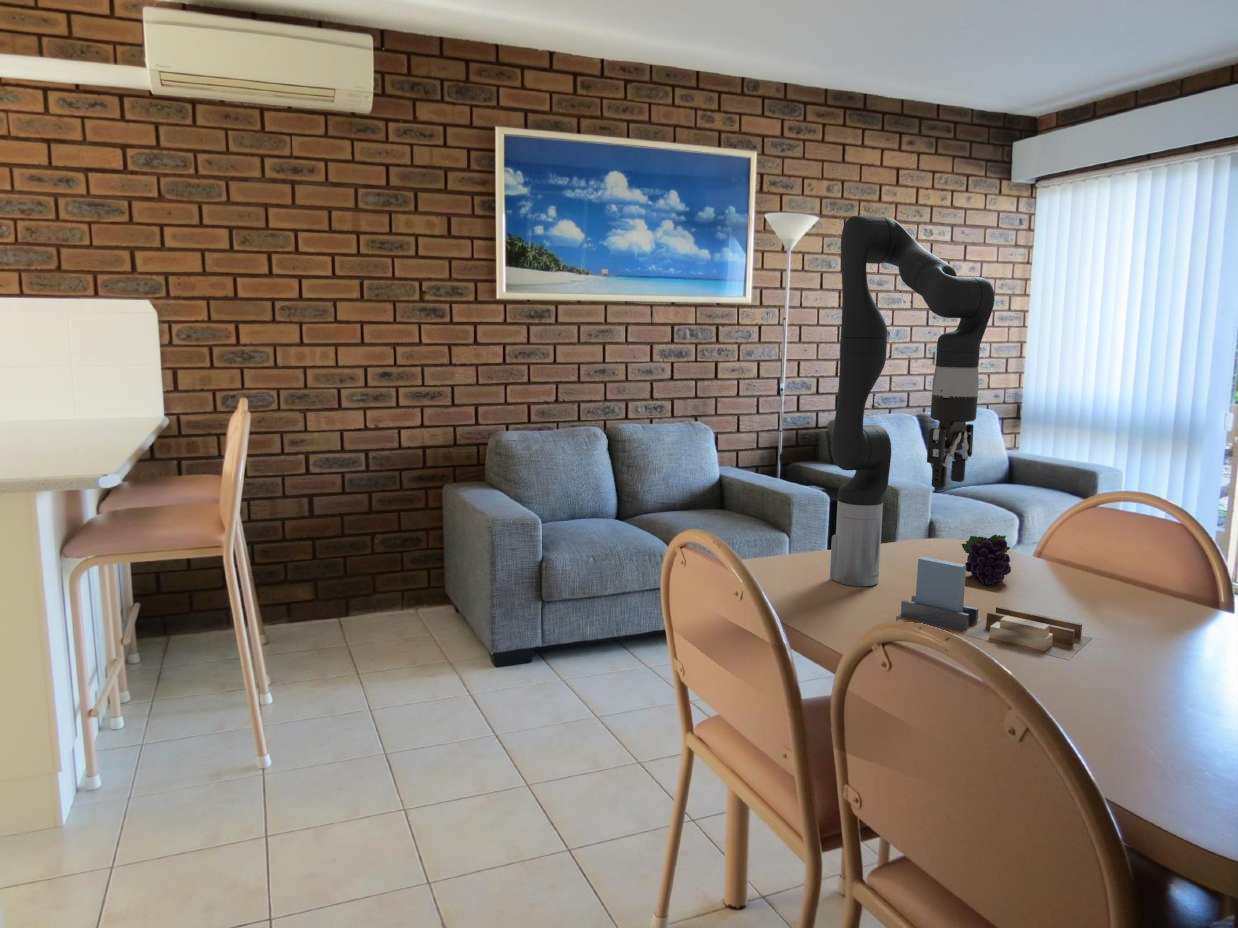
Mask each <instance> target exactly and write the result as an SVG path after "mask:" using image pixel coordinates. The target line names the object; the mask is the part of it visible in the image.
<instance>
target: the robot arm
mask: <svg viewBox="0 0 1238 928" xmlns="http://www.w3.org/2000/svg"><path fill="white" fill-rule="evenodd" d="M840 264H841V265H840V266H841V267H840V269H841V286H842V287H841V288H842V291H841V292H842V293H841V294H842V295H841V296H842V299H841V301H842V302H841V305H842V306H841V326H840V336H839V337H840V340H839V341H840V342H839V372H838V373H839V374H838V375H839V376H838V387H837V403H836V409H835V416H834V417H835V418H834V424H833V431H832V438H831V452H832V458H833V460H834V463H835V464H836V466H837V467H838V468H839V469H841V470H843V471H855V473H854V475H853V476H852V478H851V479H850V480H848V481H847V482H845V483H843V484H842V485H841V486H840V487H839V488H838V490H837V506H836V507H837V509H836V525H835V526H836V528H835V533H834V534H833V535H832V536H831V543H830V544H831V545H830V547H831V549H830V566H829V567H830V568H829V579H830V580H834V581H835V582H837V583H839V584H842V585H847V586H853V587H872V586H876V585H878V583H879V582H880V581H879V580H880V579H879V577H880V563H881V561H880V560H881V547H882V546H881V545H882V544H881V543H882V542H881V541H882V530H883V529H882V526H883V509H884V498H885V497H884V496H885V495H886V492H887V490H888V485H889V477H890V469H891V461H892V460H891V459H892V443H891V438H890V437H891V436H890V435H889V433H888V431H887V430H886V429H885V428H884V427H883V426H880V425H877V424H867V425H866V424H865V425H864V419H865V418H864V416H865V408H866V403H867V401H868V399H869V396H870V394H871V392H872V389H873V388H874V386H875V384H876V383H877V381H878V380H879V378H880V376H881V373H882V372H883V369H884V367H885V364H886V361H887V349H888V348H887V347H888V328H887V324H886V321H885V319H884V317H883V315H882V313H881V311H880V309H879V308H878V306H877V304H876V303H875V300H874V298H873V296H872V294H871V291H870V289H869V284H868V275H867V264H875V265H877V264H878V265H879V264H880V265H881V264H890V265H892V266H895V267H898V272H899V276H900V278H901V280H902V282H903V283H904V284H905V285H906V286H907V287H908V288H909V289H910V290H912V291H914V292H916V293H917V294H918V295H920V296H921V297H922V299H923V300H924V303H925V304H926V305H927V307H928V309H929V310H930V311H931V312H932V313H933V314H934V315H936V316H938V317H941V318H946V319H960V321H959V323H958V326H957V328H956V329H954V330H952V331H949V332H945V333H942V334H941V335H939V337H938V339H937V342H936V343H937V344H936V354H935V369H934V372H933V373H934V374H933V379H932V387H931V388H932V389H931V402H930V403H931V404H930V419H932V420H933V421H938V427H937V428H933V427H931V428H929V433H928V434H929V435H928V444H927V455H926V463H928V464H930V465H931V466H932V474H931V486H932V487H933V488H937V489H943V488H945V487H947V486H946V483H947V472H948V471H947V469H948V467H947V466H948V463H949V460H950V458H951V459H952V461H951V470H950V471H951V472H950V481H952V482H957V483H962V482H964V481H965V477H966V476H965V475H966V466H967V465H966V462H968V460H969V458H971V457H972V456H973V443H974V441H973V440H974V424H972V423H971V422H974V421H975V420H976V418H977V409H978V399H979V398H978V397H979V386H980V385H979V384H980V383H979V381H980V377H979V367H980V366H979V365H980V353H981V352H980V350H981V348H980V347H981V343H982V341H983V338H984V335H985V332H986V329H987V327H988V324H989V321H990V319H991V315H992V312H993V310H994V305H995V298H996V297H995V296H996V295H995V291H994V290H995V289H994V287H993V286H992V284H991V282H990V281H989V280H988V279H986V278H984V277H981V276H980V277H979V276H977V277H975V276H958V275H957V272H956V270H955V268H954V267H952V265H950V264H949V263H947V262H946V261H944V260H943V259H941V258H940V257H938V256H936V255H935V254H933V253H931V252H930V251H928V249H925V248H924V247H923V246H922V245H920V244H919V243H918V242H917V241H916V239H915V238H914V237H912V235H911V234H910V233H909V232H908V231H907V230H906V229H905V227H904V226H902V225H901V224H900V223H899V222H898V221H897V220H895V218H891V217H889V216H888V217H887V216H873V215H853V216H851V217H849V218H848V219H847V220H846V221H845V223H844V225H843V227H842V231H841V238H840Z"/></svg>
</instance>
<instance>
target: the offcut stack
mask: <svg viewBox="0 0 1238 928" xmlns="http://www.w3.org/2000/svg"><path fill="white" fill-rule="evenodd" d="M1049 632H1050V625H1049V624H1044V623H1040V622H1035V621H1030V620H1026V619H1021V618H1016V617H1012V616H1007V615H1006V616H1005V617H1003V618H1002V619H1000V622H998V621H997V622H996V623H994V624H993V625H991V626H990V634H989V638H993V639H998V640H1002V641H1006V642H1010V643H1015V644H1019V645H1023V646H1028V647H1032V648H1036V649H1040V650H1045V651H1046V650H1047V649H1048V648H1049V647H1051V646H1052V640H1053V634H1052V633H1049Z"/></svg>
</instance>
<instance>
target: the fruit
mask: <svg viewBox="0 0 1238 928" xmlns="http://www.w3.org/2000/svg"><path fill="white" fill-rule="evenodd" d="M1006 537H1007V535H1000V534H999V535H997V534H993V535H992V536H990V537H989V538H987V536H977V535H970V536H969V538H968V540H965V543H961V546H962V547H961V548H962V549H963V551H964V552H965V553H966V554H967V559H966V561H967V562H965V563H964V565H966V572H967V573H970V574H971V576H973V577H977V578H978V580H979V581H980V582H981V583H982V584H983V585H985V586H988V585H994V584H995V583H996V582H1001V581H1003V580H1005V576H1007V575H1009V574H1010V573H1011V572H1012V567H1011V565H1010V562H1011V557H1010V555H1009V553H1008V551H1009V550H1010V549H1011V547H1010V546H1008V542H1007V540H1006Z"/></svg>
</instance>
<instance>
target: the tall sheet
mask: <svg viewBox="0 0 1238 928" xmlns="http://www.w3.org/2000/svg"><path fill="white" fill-rule="evenodd" d="M966 572H967V571H966V565H965V563H964V564H963V563H959V562H951V561H948V560H943V559H937V558H932V557H931V558H930V557H927V556H926V557H925V556H921V557H918V558H917V573H916V575H917V576H916V587H915V588H916V589H915V591H916V592H915V595H916V603H921V604H925V605H930V606H935V607H939V608H944V609H948V610H953V611H957V612H962V613H963V605H964V601H965V591H966V590H965V587H966V574H967V573H966Z"/></svg>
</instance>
